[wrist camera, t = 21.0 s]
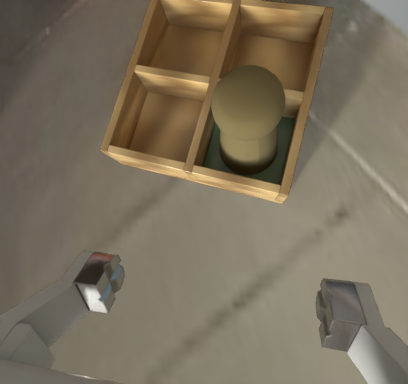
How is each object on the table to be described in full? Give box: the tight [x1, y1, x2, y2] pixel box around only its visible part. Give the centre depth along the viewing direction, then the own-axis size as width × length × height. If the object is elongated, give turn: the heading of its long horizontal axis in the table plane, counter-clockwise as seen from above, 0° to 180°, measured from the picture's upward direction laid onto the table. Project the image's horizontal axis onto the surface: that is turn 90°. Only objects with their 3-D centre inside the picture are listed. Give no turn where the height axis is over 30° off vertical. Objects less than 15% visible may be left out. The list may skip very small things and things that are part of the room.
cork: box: [211, 65, 285, 175], centre depth 23 cm, size 6×6×11 cm
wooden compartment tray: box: [100, 0, 334, 203], centre depth 29 cm, size 18×18×5 cm
